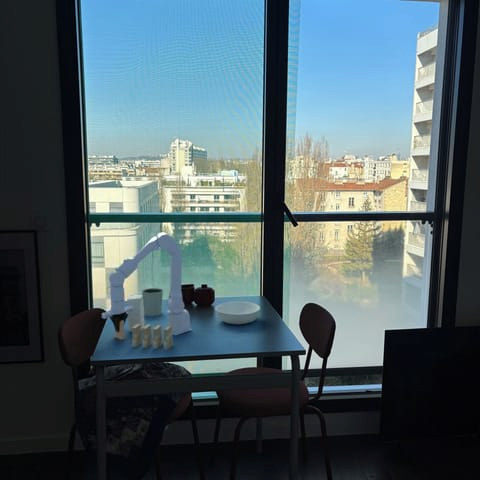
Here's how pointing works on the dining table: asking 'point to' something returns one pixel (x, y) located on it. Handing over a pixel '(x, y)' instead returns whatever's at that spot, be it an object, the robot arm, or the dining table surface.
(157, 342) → the domino
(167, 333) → the domino
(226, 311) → the serving bowl
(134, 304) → the skincare box
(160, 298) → the grey green plant pot
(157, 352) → the dining table surface
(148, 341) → the domino
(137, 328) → the domino
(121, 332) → the end domino
